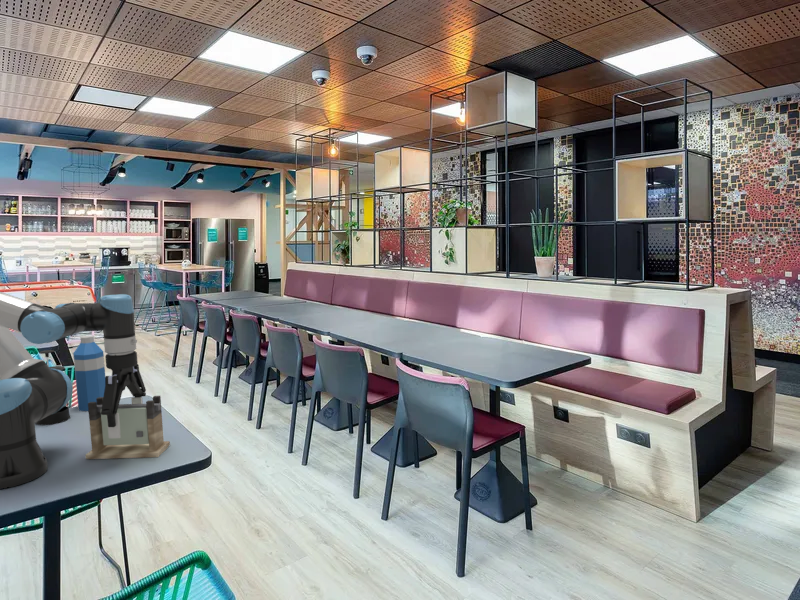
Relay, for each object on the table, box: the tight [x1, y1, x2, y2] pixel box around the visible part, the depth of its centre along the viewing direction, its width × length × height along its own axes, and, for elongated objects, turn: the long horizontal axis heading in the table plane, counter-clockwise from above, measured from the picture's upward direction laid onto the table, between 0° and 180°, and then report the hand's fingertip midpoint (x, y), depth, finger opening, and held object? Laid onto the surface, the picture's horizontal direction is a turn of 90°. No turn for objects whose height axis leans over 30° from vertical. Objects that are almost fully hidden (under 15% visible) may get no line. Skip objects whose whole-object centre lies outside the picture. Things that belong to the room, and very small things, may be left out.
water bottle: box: [72, 335, 106, 412], centre depth 183 cm, size 9×9×25 cm
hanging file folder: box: [97, 402, 162, 445], centre depth 144 cm, size 18×4×11 cm, turn 92°
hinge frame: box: [84, 395, 171, 460], centre depth 144 cm, size 19×8×15 cm, turn 92°
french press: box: [35, 349, 71, 426], centre depth 170 cm, size 12×9×23 cm
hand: (127, 428), depth 144 cm, fingers open, 13 cm apart
